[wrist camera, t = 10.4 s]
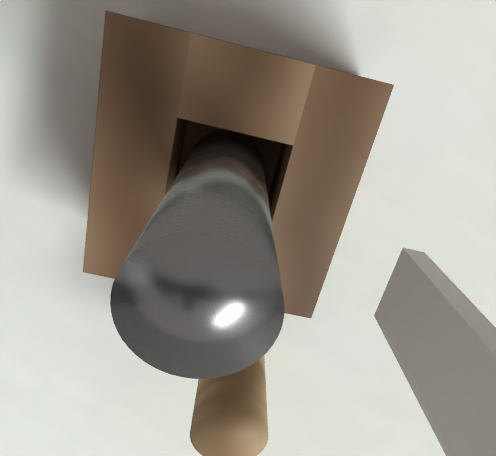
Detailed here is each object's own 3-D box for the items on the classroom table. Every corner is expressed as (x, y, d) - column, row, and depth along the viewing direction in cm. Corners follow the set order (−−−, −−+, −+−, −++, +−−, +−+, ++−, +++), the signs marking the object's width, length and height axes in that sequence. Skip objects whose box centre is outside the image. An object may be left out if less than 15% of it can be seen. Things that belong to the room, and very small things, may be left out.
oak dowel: (201, 353, 29) (183, 456, 21) (212, 307, 27) (197, 400, 20) (255, 364, 29) (257, 468, 22) (269, 319, 27) (276, 414, 20)
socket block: (113, 232, 25) (82, 272, 20) (138, 21, 20) (105, 10, 16) (300, 272, 26) (310, 318, 21) (362, 79, 21) (394, 84, 17)
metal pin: (184, 192, 23) (102, 362, 10) (197, 121, 21) (120, 213, 8) (253, 207, 23) (261, 391, 10) (270, 139, 22) (305, 253, 9)
